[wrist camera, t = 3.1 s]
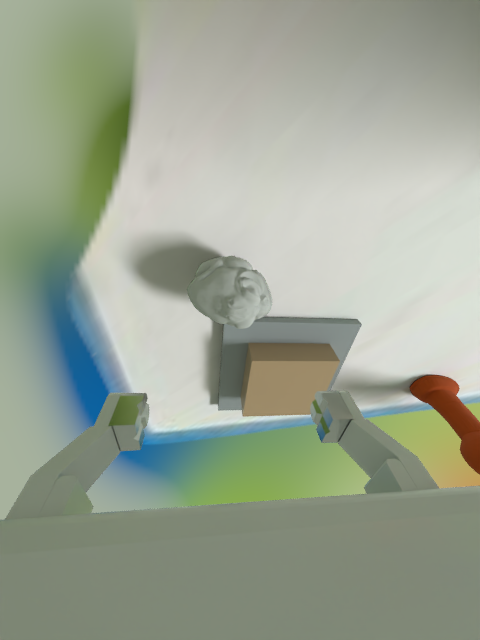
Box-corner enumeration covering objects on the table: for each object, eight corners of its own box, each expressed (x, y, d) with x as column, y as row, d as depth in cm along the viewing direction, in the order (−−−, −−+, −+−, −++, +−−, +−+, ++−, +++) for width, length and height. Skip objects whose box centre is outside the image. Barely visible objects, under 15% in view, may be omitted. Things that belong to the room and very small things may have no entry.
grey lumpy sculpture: (254, 304, 26) (265, 346, 20) (188, 296, 25) (181, 339, 19) (268, 249, 23) (286, 282, 17) (193, 237, 21) (186, 268, 16)
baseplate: (224, 315, 26) (225, 338, 23) (357, 319, 28) (376, 340, 25) (218, 404, 35) (218, 430, 32) (319, 402, 38) (329, 426, 34)
